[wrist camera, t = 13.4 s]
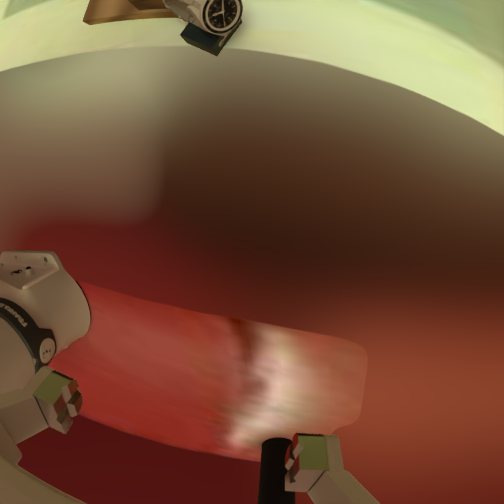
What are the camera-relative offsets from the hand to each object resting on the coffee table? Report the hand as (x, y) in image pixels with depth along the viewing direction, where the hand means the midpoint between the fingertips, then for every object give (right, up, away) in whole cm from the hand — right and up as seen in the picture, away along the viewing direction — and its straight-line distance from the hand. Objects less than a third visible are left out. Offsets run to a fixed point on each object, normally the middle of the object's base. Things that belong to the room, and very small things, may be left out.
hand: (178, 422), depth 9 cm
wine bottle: (+8, -32, +41) cm, 53 cm away
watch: (-2, +32, +19) cm, 38 cm away
